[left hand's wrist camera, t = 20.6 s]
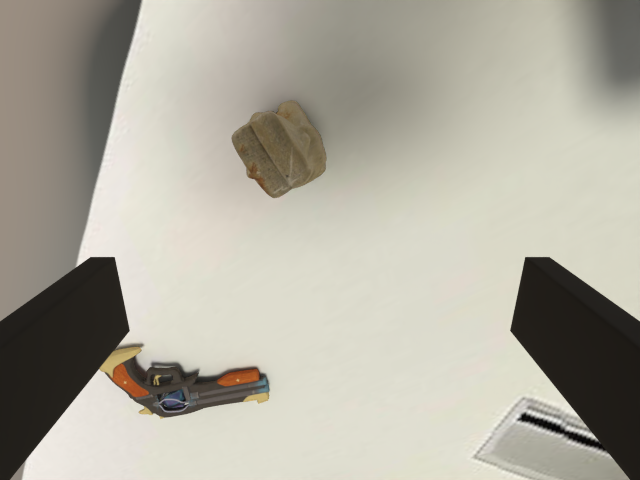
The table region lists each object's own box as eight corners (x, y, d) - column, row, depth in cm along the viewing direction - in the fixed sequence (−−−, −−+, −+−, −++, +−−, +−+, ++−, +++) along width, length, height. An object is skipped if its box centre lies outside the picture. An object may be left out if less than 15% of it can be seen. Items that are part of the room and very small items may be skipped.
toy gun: (89, 361, 44) (115, 434, 47) (253, 332, 44) (270, 406, 47) (101, 349, 47) (125, 419, 49) (255, 322, 47) (272, 392, 49)
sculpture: (303, 91, 36) (293, 90, 22) (336, 161, 39) (346, 199, 25) (249, 120, 37) (207, 136, 23) (285, 186, 39) (265, 237, 25)
